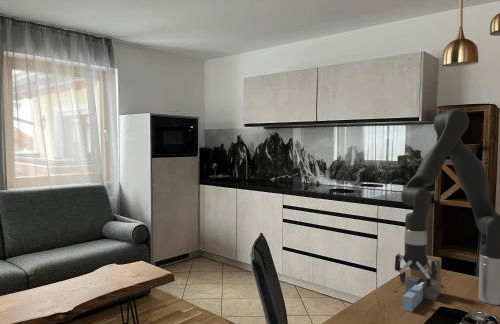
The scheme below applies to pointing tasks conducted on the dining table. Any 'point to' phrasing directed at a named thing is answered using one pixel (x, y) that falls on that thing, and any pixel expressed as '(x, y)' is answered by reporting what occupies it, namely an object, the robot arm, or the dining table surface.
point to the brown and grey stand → (419, 277)
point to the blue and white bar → (413, 297)
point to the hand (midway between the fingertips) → (415, 285)
